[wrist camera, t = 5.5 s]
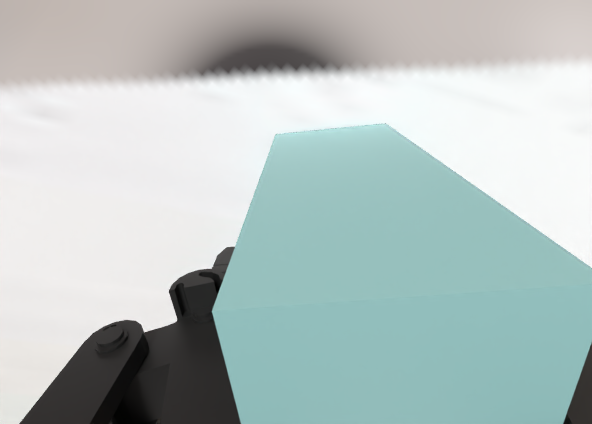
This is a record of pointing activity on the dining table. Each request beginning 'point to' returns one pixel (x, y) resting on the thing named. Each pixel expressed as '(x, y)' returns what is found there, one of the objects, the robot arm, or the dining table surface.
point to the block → (395, 294)
